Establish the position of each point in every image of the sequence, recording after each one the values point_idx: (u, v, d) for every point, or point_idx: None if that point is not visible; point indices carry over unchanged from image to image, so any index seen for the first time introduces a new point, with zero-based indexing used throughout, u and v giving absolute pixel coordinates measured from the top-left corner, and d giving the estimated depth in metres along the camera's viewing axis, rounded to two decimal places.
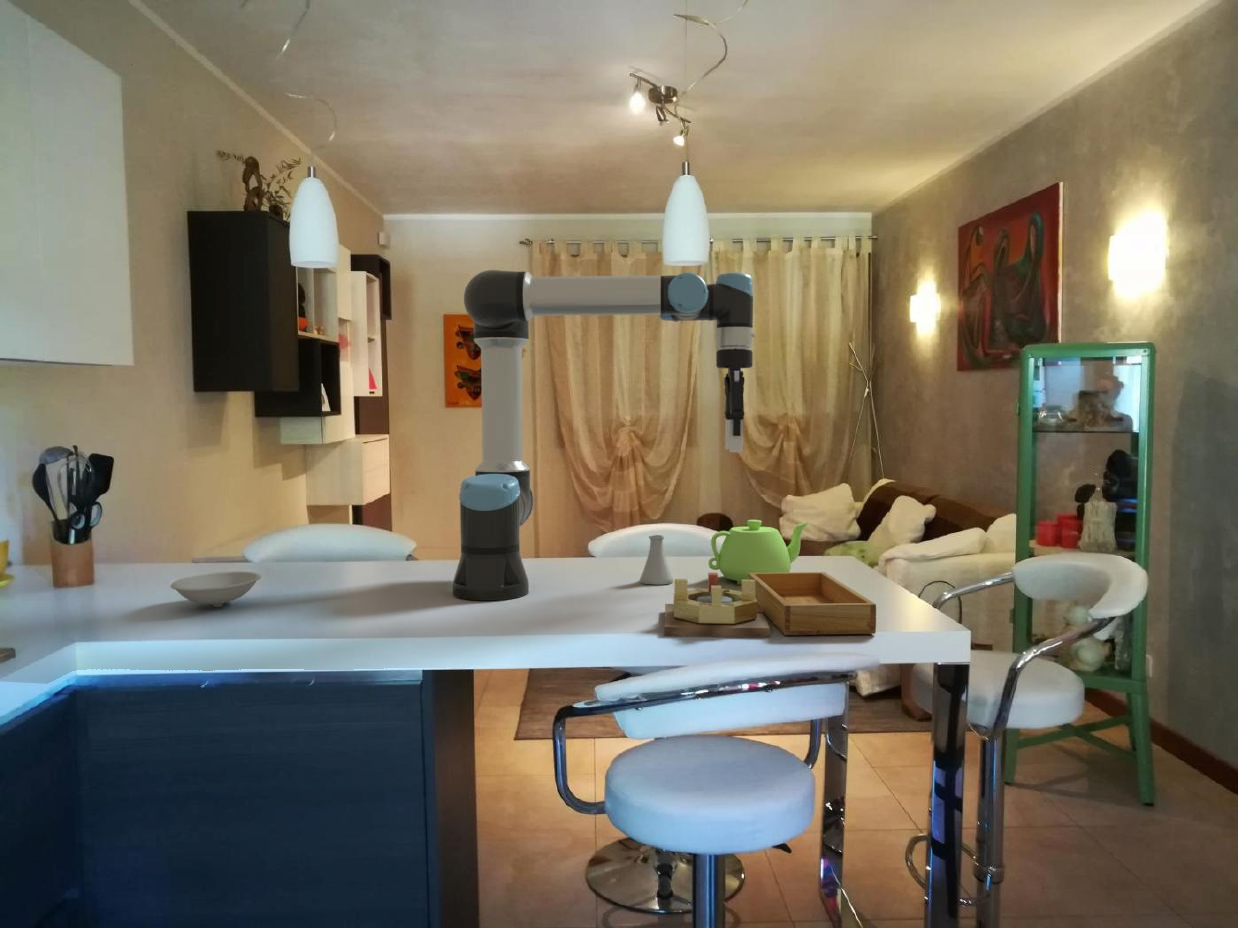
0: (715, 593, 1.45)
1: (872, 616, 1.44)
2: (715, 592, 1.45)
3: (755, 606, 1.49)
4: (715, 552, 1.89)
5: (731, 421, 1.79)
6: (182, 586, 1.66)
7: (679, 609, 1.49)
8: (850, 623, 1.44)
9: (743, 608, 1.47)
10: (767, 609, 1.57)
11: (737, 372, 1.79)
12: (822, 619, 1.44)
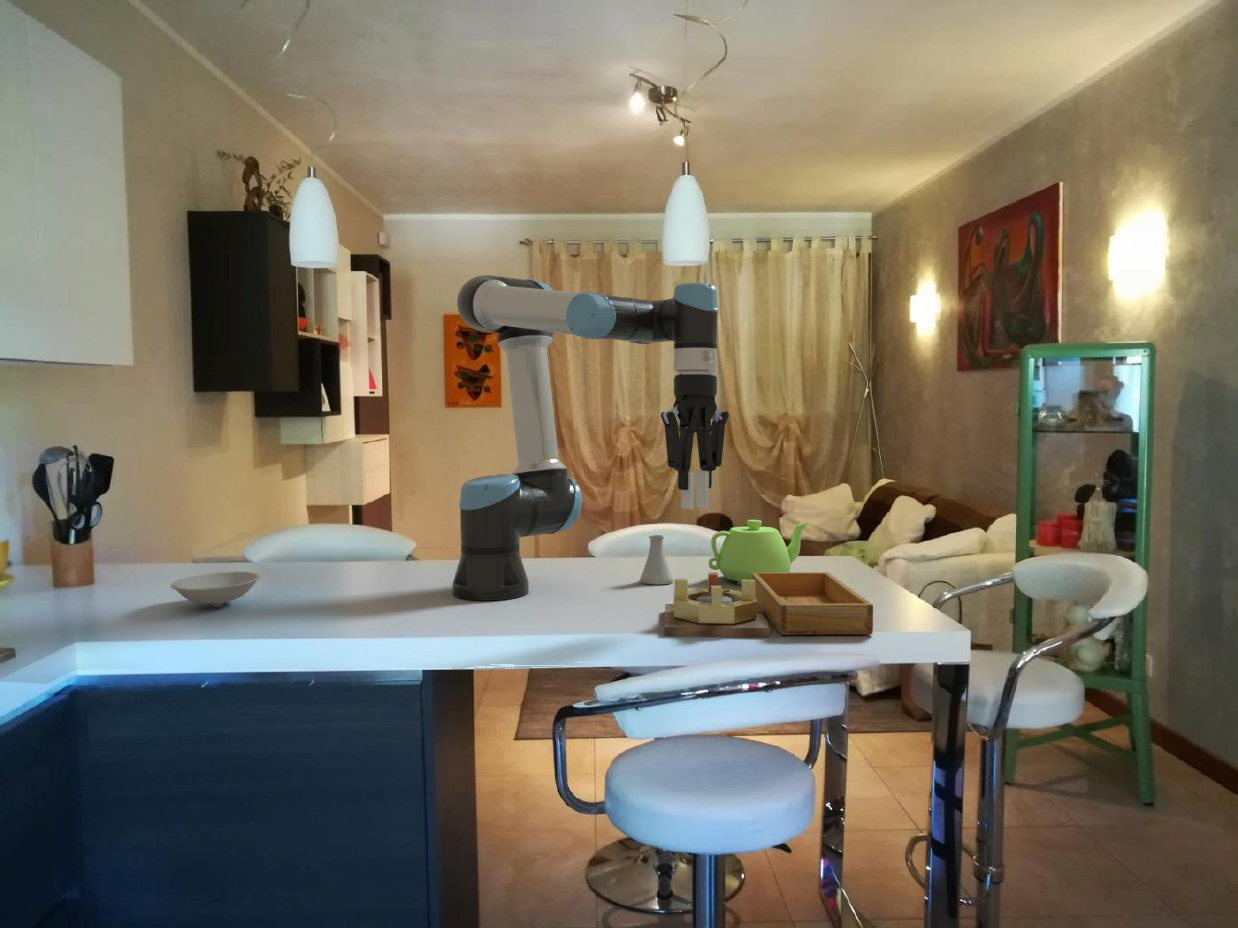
0: (715, 593, 1.45)
1: (869, 617, 1.44)
2: (715, 592, 1.45)
3: (755, 606, 1.49)
4: (715, 552, 1.89)
5: None
6: (182, 586, 1.66)
7: (679, 609, 1.49)
8: (847, 623, 1.44)
9: (743, 608, 1.47)
10: (766, 609, 1.57)
11: (665, 415, 1.52)
12: (818, 619, 1.44)
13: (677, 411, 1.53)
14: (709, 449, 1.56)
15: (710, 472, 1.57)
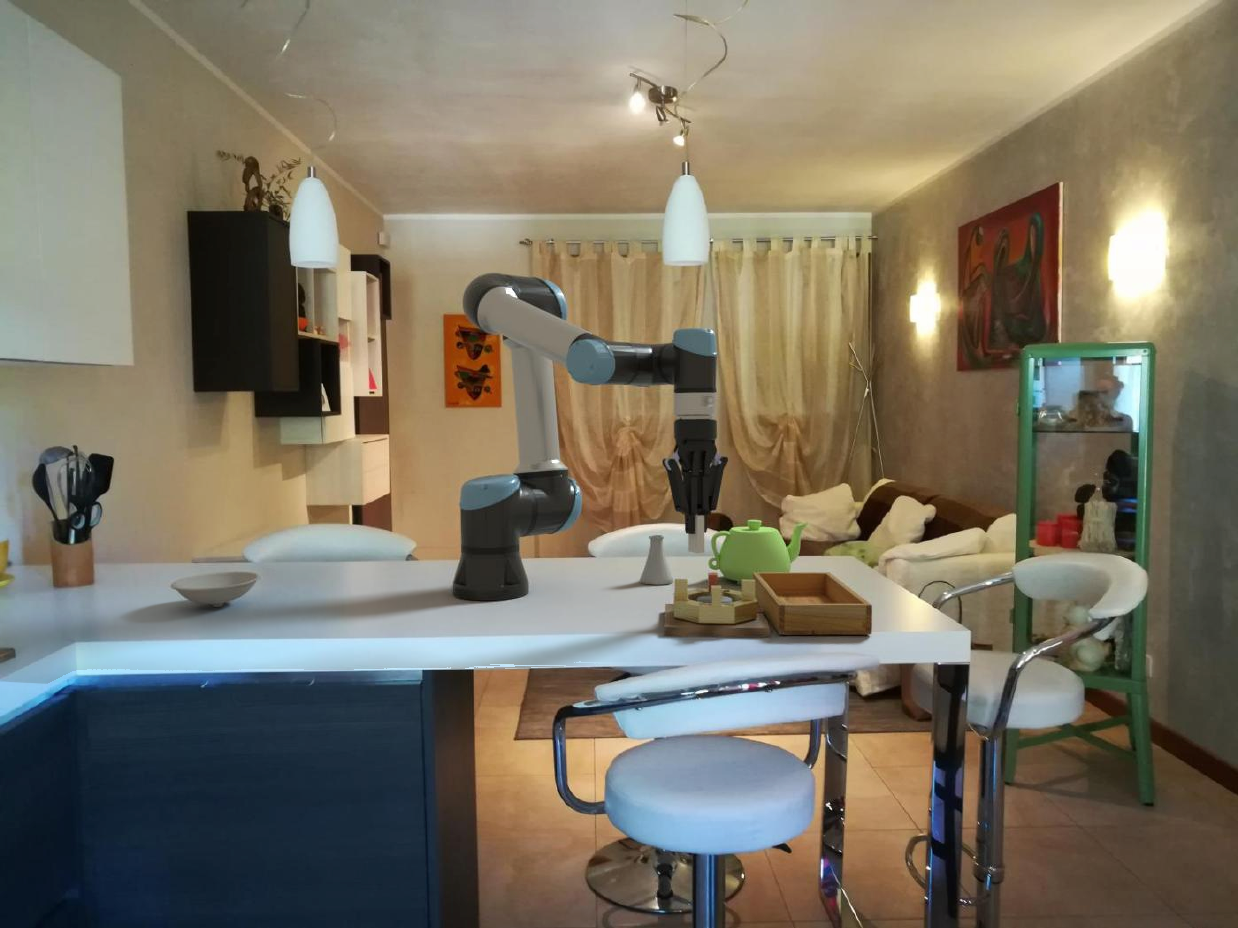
0: (715, 593, 1.45)
1: (868, 617, 1.44)
2: (715, 592, 1.45)
3: (755, 606, 1.49)
4: (715, 552, 1.89)
5: None
6: (182, 586, 1.66)
7: (679, 609, 1.49)
8: (846, 623, 1.44)
9: (743, 608, 1.47)
10: (766, 608, 1.57)
11: (666, 462, 1.52)
12: (817, 619, 1.44)
13: (678, 456, 1.53)
14: (706, 493, 1.56)
15: (705, 516, 1.56)
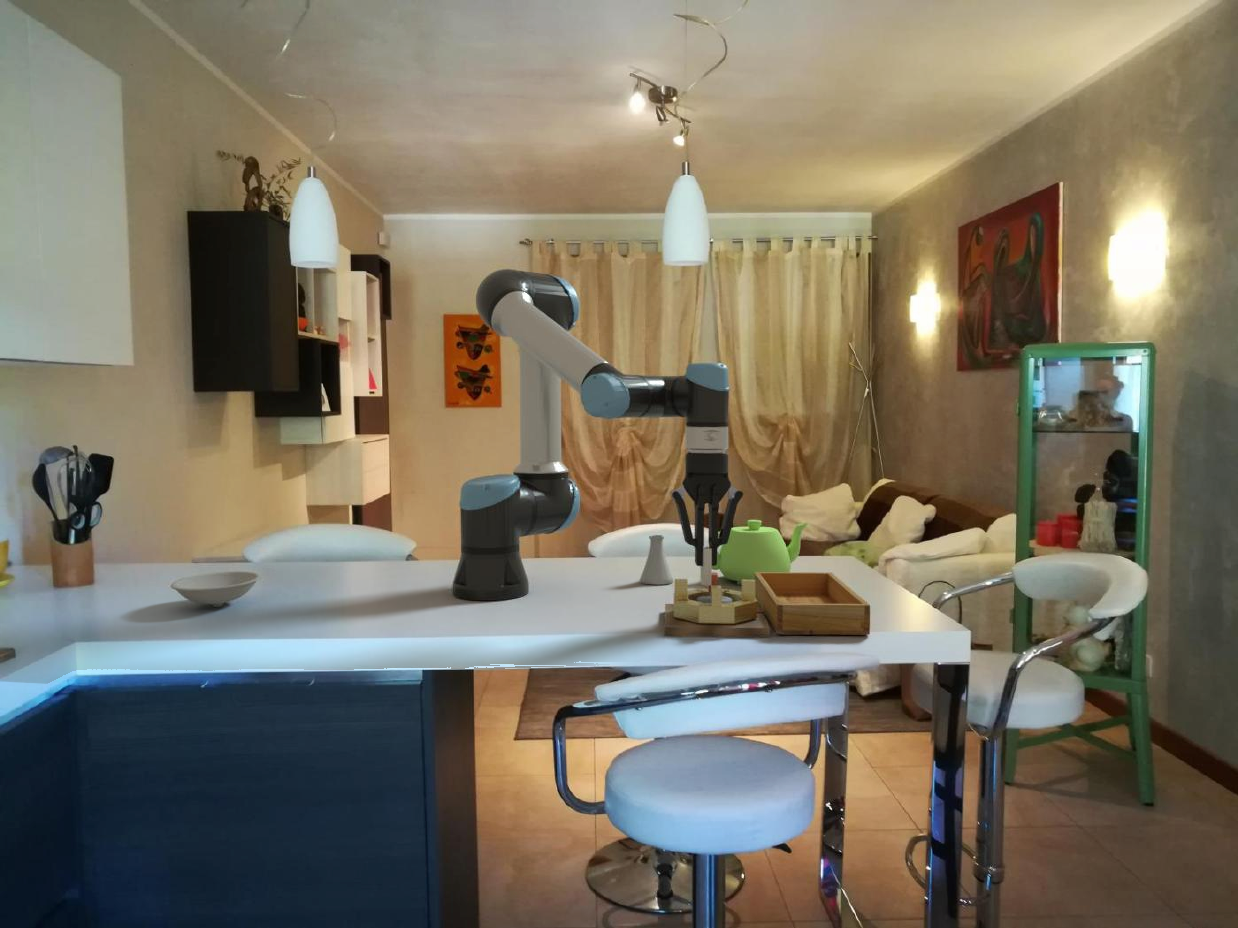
0: (715, 593, 1.45)
1: (866, 617, 1.44)
2: (715, 592, 1.45)
3: (755, 606, 1.49)
4: None
5: None
6: (182, 586, 1.66)
7: (679, 609, 1.49)
8: (844, 623, 1.44)
9: (743, 608, 1.47)
10: (766, 608, 1.58)
11: (671, 494, 1.56)
12: (815, 619, 1.44)
13: (684, 489, 1.56)
14: (715, 527, 1.56)
15: (715, 549, 1.57)
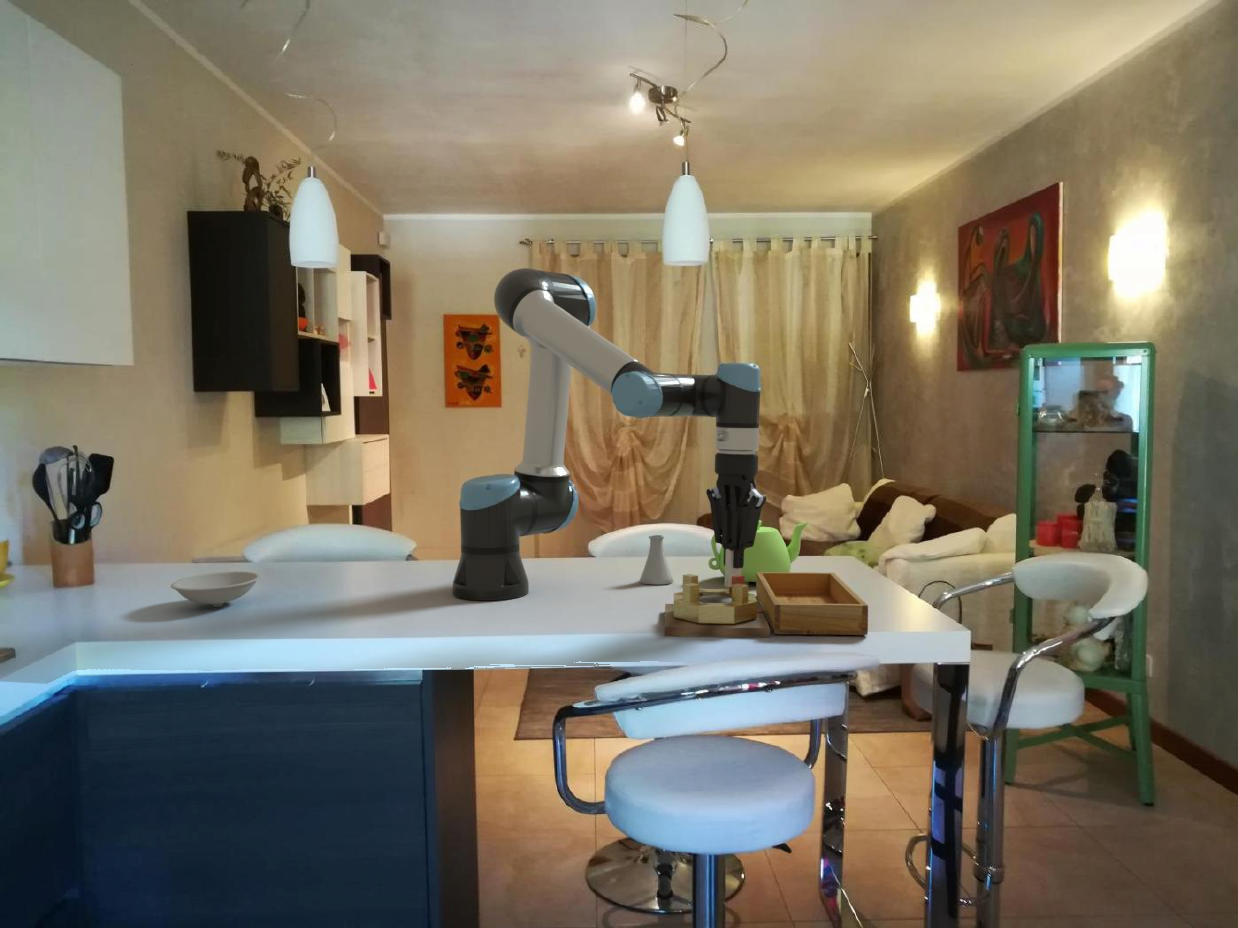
0: (685, 590, 1.48)
1: (864, 617, 1.44)
2: (685, 588, 1.48)
3: (731, 611, 1.45)
4: (715, 552, 1.89)
5: None
6: (182, 586, 1.66)
7: None
8: (841, 623, 1.44)
9: (711, 610, 1.45)
10: None
11: None
12: (812, 619, 1.44)
13: (717, 488, 1.58)
14: (734, 529, 1.54)
15: (736, 552, 1.54)
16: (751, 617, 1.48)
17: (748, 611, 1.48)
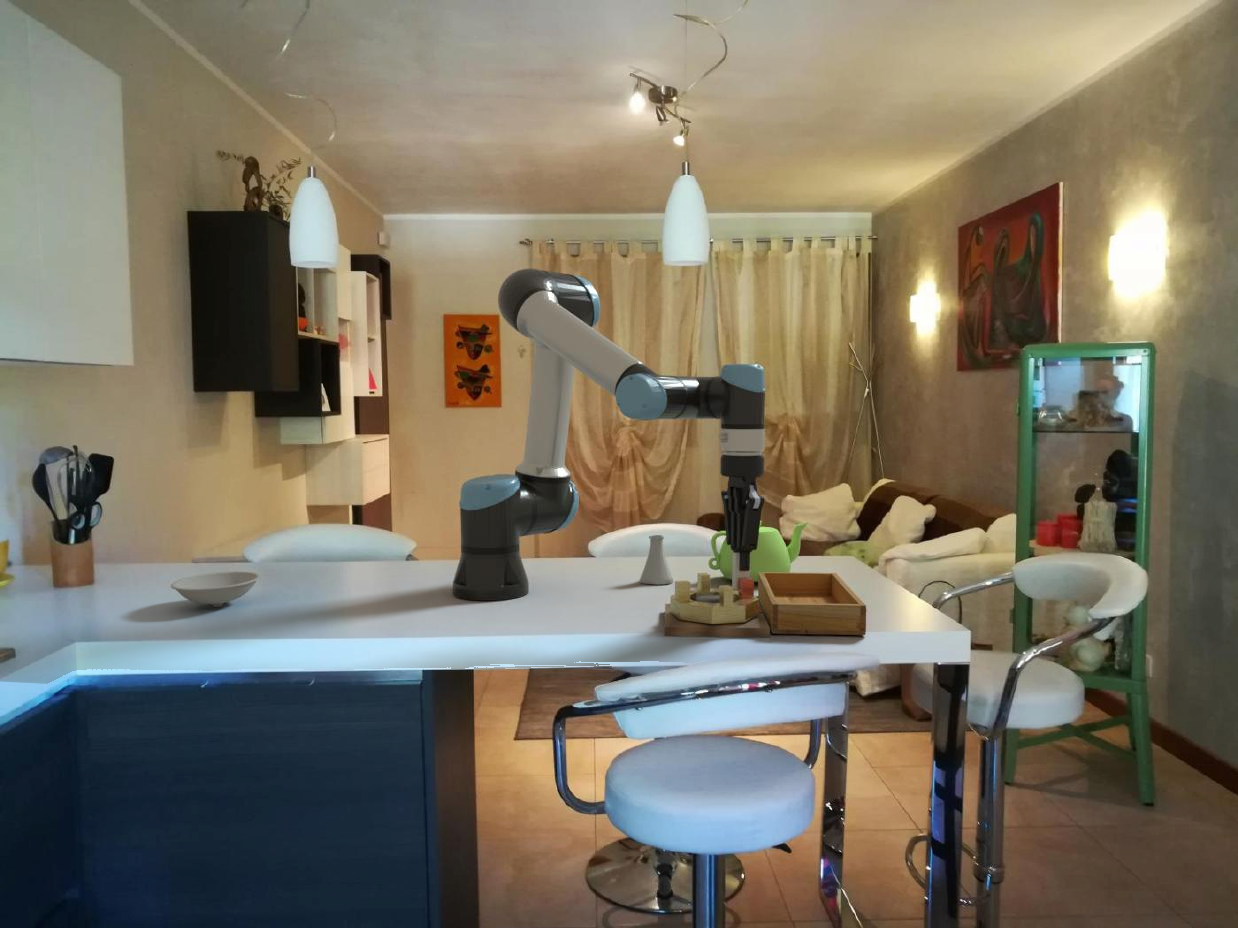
0: (675, 586, 1.51)
1: (862, 617, 1.43)
2: (675, 585, 1.51)
3: (709, 611, 1.45)
4: (715, 552, 1.89)
5: None
6: (182, 586, 1.66)
7: None
8: (839, 623, 1.44)
9: (692, 608, 1.47)
10: (765, 608, 1.58)
11: None
12: (810, 619, 1.44)
13: None
14: (738, 531, 1.53)
15: (741, 554, 1.53)
16: (737, 620, 1.46)
17: (732, 614, 1.46)
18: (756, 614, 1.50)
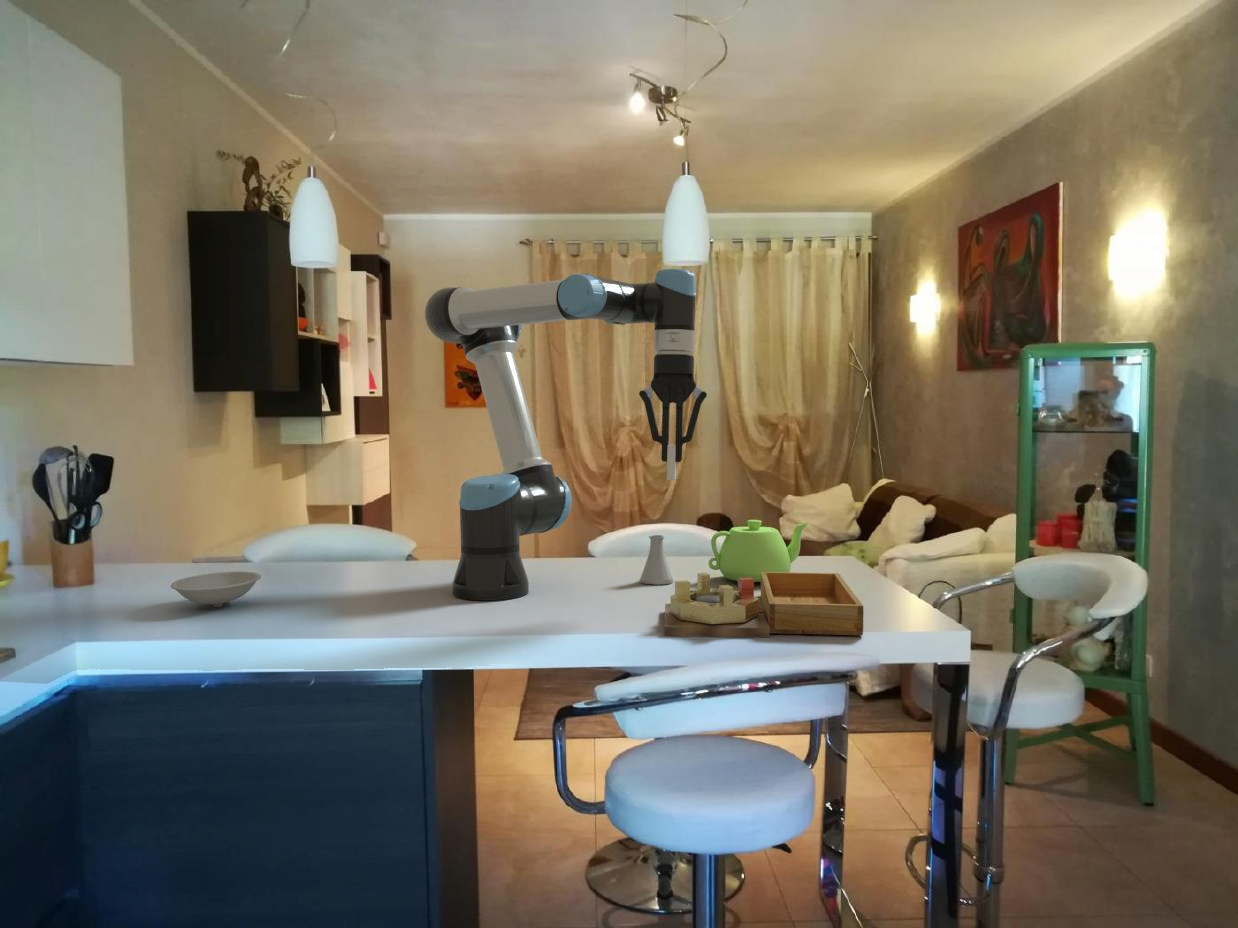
0: (675, 586, 1.51)
1: (859, 618, 1.43)
2: (675, 585, 1.51)
3: (709, 611, 1.45)
4: (715, 552, 1.89)
5: None
6: (182, 586, 1.66)
7: None
8: (837, 623, 1.44)
9: (692, 608, 1.47)
10: (765, 607, 1.58)
11: None
12: (807, 619, 1.44)
13: (651, 389, 1.67)
14: (679, 425, 1.66)
15: (680, 447, 1.67)
16: (737, 620, 1.46)
17: (732, 614, 1.46)
18: (756, 614, 1.50)
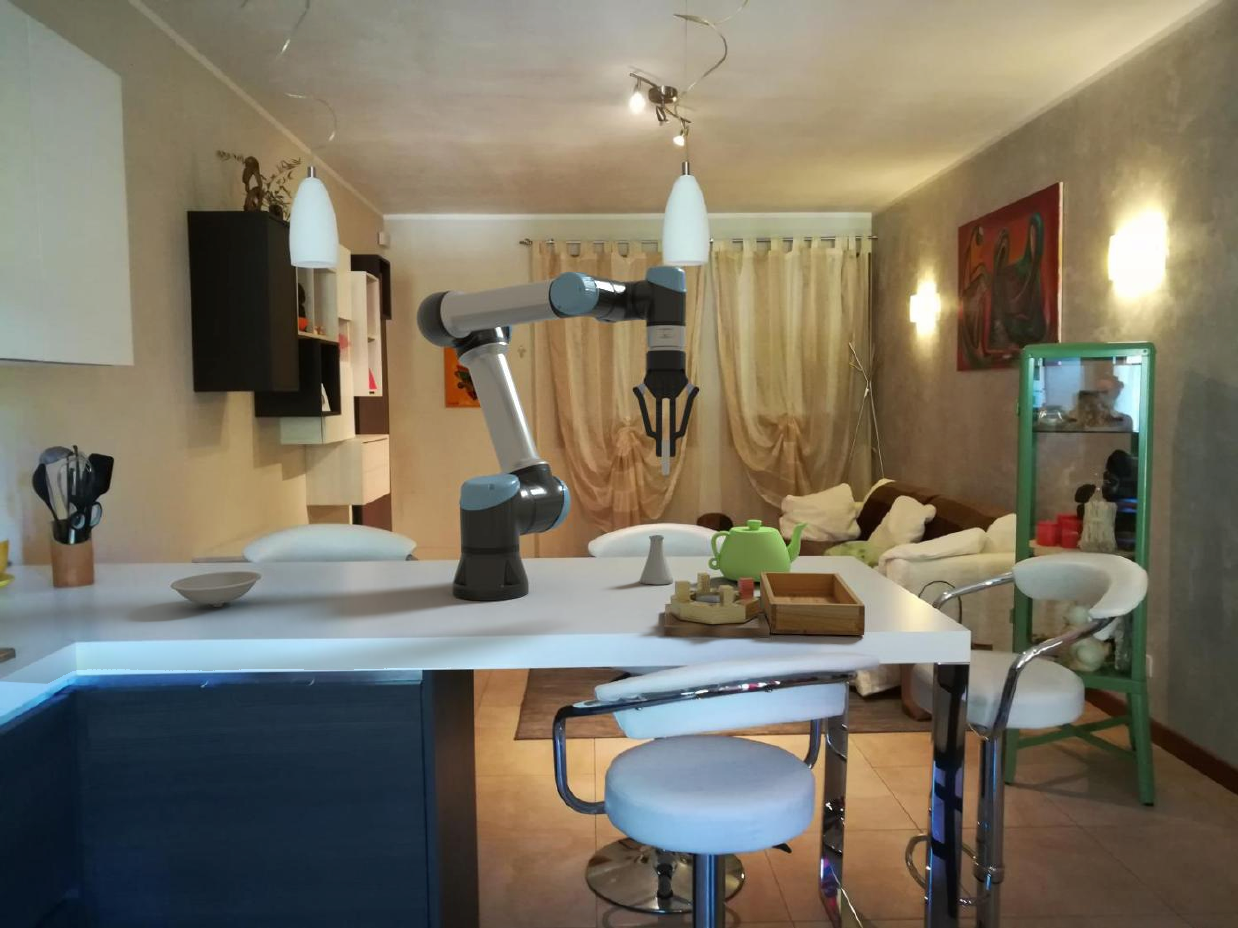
0: (675, 586, 1.51)
1: (861, 618, 1.43)
2: (675, 585, 1.51)
3: (709, 611, 1.45)
4: (715, 552, 1.89)
5: None
6: (182, 586, 1.66)
7: None
8: (838, 623, 1.44)
9: (692, 608, 1.47)
10: None
11: None
12: (809, 619, 1.44)
13: (644, 385, 1.68)
14: (673, 420, 1.68)
15: (674, 442, 1.68)
16: (737, 620, 1.46)
17: (732, 614, 1.46)
18: (756, 614, 1.50)
